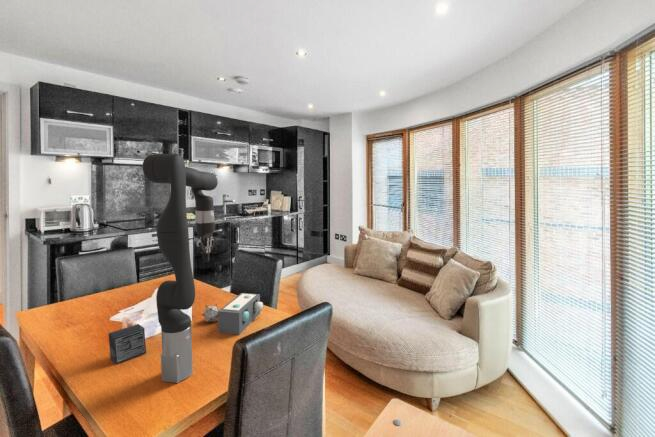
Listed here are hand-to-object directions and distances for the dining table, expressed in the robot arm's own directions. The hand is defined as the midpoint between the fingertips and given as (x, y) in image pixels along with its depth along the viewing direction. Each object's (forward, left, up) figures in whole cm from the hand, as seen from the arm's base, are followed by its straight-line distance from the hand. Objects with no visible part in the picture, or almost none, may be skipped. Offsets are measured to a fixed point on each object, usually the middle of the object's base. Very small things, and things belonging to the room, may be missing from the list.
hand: (206, 261), depth 135 cm
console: (+15, -8, -33) cm, 37 cm away
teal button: (+9, -12, -29) cm, 33 cm away
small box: (-21, +21, -33) cm, 45 cm away
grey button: (+21, -14, -29) cm, 39 cm away
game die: (+13, +6, -33) cm, 36 cm away
